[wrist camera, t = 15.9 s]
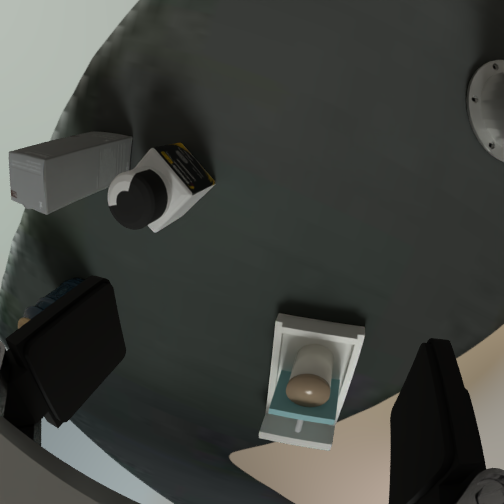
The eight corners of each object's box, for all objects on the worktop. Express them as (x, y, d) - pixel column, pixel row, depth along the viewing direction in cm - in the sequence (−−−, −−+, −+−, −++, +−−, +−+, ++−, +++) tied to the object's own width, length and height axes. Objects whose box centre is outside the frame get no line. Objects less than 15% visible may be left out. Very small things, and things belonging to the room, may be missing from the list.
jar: (338, 346, 43) (334, 381, 37) (330, 375, 46) (325, 410, 39) (297, 340, 45) (288, 373, 38) (292, 369, 47) (283, 402, 41)
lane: (364, 326, 41) (365, 354, 36) (333, 424, 50) (329, 450, 45) (278, 313, 44) (268, 339, 39) (267, 412, 53) (258, 437, 48)
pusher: (339, 379, 45) (335, 420, 38) (328, 416, 48) (321, 454, 41) (281, 369, 47) (268, 408, 40) (276, 407, 51) (264, 443, 43)
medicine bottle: (217, 182, 40) (169, 207, 29) (181, 216, 43) (129, 250, 32) (181, 141, 39) (123, 152, 28) (148, 177, 42) (89, 199, 31)
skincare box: (134, 135, 40) (46, 152, 26) (130, 185, 43) (47, 218, 29) (91, 129, 42) (6, 145, 28) (88, 175, 45) (7, 203, 31)
